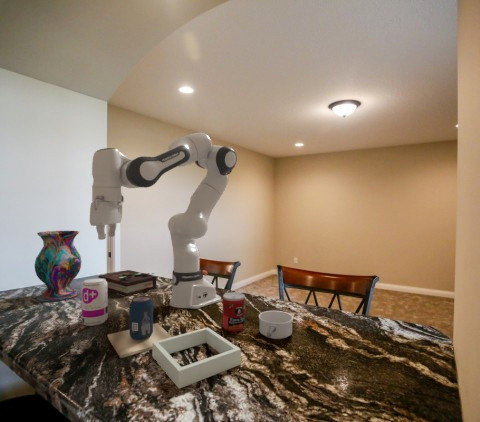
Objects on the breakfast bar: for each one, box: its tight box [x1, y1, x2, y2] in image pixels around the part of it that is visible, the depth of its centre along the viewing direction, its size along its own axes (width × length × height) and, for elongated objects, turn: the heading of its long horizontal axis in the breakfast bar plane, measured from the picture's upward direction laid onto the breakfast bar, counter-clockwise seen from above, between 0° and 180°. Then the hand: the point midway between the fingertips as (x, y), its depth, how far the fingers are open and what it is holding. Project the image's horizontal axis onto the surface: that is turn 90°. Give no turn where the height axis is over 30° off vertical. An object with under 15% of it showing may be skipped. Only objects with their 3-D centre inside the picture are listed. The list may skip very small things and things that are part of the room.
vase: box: [34, 230, 82, 302], centre depth 133 cm, size 18×18×30 cm
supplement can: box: [81, 277, 108, 327], centre depth 103 cm, size 8×8×15 cm
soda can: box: [129, 295, 154, 341], centre depth 90 cm, size 7×7×12 cm
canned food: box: [222, 291, 246, 332], centre depth 99 cm, size 8×8×11 cm
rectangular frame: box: [151, 326, 242, 390], centre depth 77 cm, size 17×17×4 cm
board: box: [107, 322, 173, 359], centre depth 89 cm, size 16×16×1 cm
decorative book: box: [98, 269, 157, 297], centre depth 148 cm, size 19×8×30 cm
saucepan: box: [257, 310, 294, 340], centre depth 90 cm, size 12×20×6 cm, turn 165°
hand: (107, 237), depth 96 cm, fingers open, 8 cm apart
